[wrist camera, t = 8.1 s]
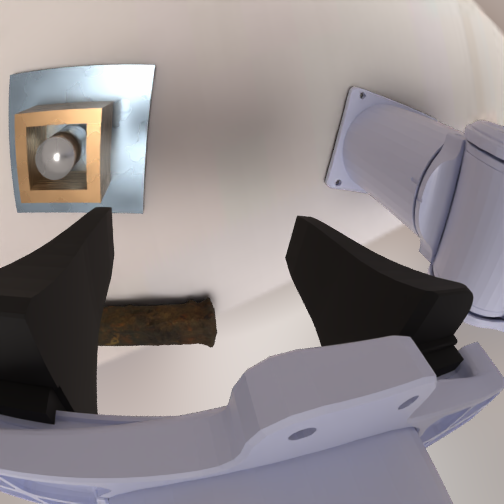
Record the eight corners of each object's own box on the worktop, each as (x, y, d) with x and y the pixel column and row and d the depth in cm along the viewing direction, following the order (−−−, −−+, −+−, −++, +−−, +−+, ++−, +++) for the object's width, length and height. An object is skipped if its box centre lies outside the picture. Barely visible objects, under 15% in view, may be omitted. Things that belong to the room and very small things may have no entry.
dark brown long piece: (213, 289, 27) (222, 328, 23) (210, 321, 29) (217, 360, 25) (13, 285, 21) (-4, 321, 18) (25, 316, 23) (12, 352, 20)
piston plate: (155, 65, 15) (149, 64, 12) (143, 209, 21) (138, 240, 17) (14, 74, 12) (-18, 80, 9) (20, 208, 18) (-3, 237, 15)
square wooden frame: (113, 101, 16) (102, 108, 13) (110, 182, 18) (100, 202, 16) (36, 105, 14) (14, 114, 11) (39, 183, 17) (20, 203, 14)
